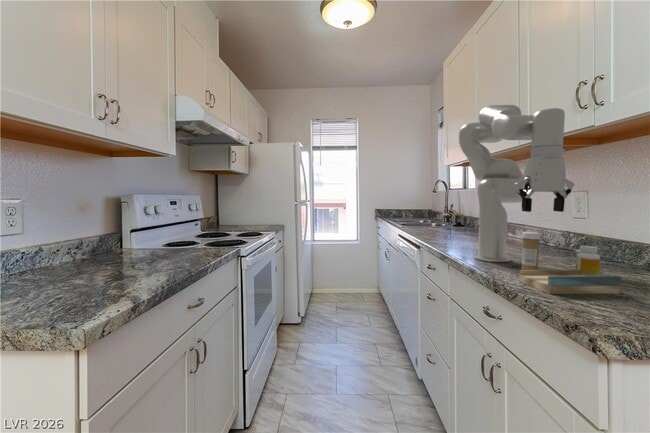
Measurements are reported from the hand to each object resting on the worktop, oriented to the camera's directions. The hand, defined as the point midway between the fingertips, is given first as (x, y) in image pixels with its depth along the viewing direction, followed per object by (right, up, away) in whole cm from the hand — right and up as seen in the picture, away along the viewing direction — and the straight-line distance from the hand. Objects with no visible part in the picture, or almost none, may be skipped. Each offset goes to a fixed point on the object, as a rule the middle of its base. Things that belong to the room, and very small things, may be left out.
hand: (542, 211), depth 90 cm
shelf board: (+1, -21, -8) cm, 22 cm away
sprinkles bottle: (0, -20, +5) cm, 21 cm away
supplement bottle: (+14, -20, +1) cm, 25 cm away
